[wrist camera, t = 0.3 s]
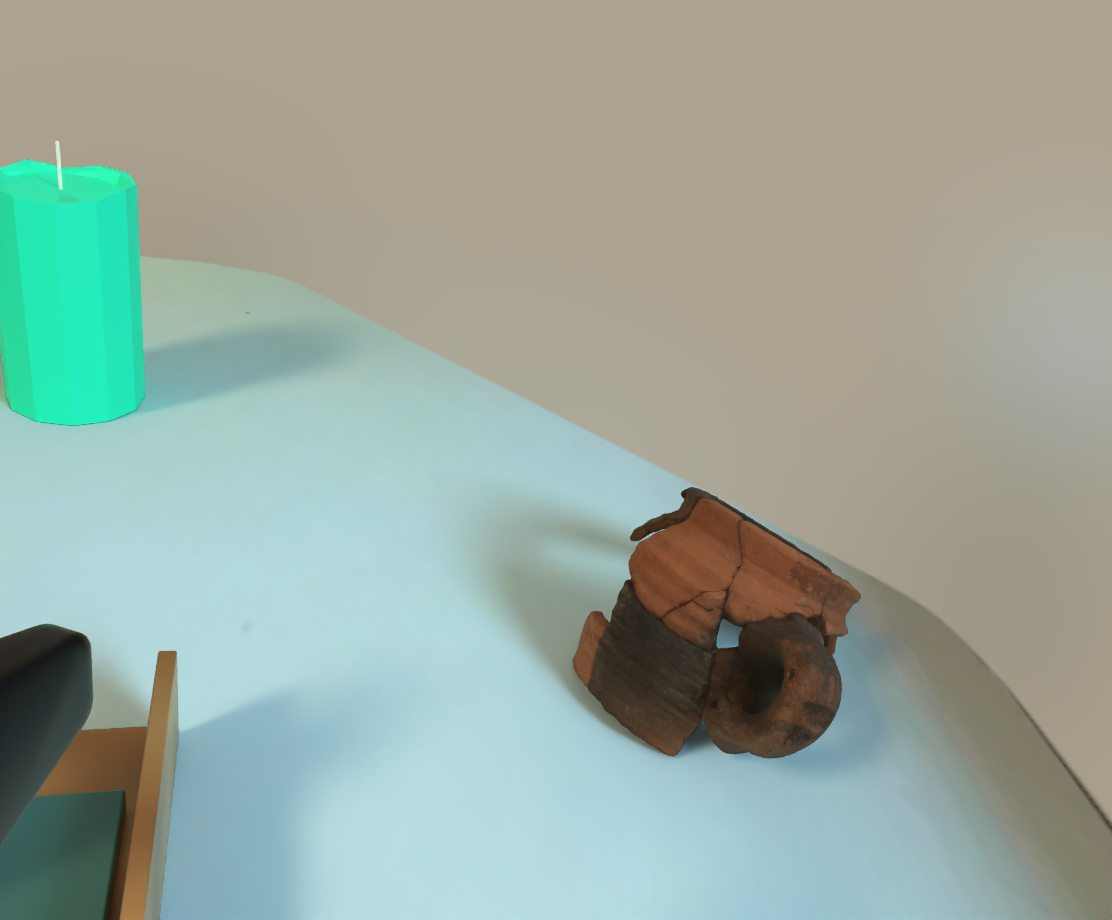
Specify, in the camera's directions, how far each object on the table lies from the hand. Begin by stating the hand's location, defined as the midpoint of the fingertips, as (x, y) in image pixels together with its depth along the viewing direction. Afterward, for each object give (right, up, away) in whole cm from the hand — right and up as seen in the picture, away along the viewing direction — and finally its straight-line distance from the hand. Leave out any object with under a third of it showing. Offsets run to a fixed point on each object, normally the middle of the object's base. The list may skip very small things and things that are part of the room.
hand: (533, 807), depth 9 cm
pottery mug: (+6, -6, +26) cm, 28 cm away
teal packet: (-13, -8, +15) cm, 21 cm away
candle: (-23, +6, +37) cm, 44 cm away
